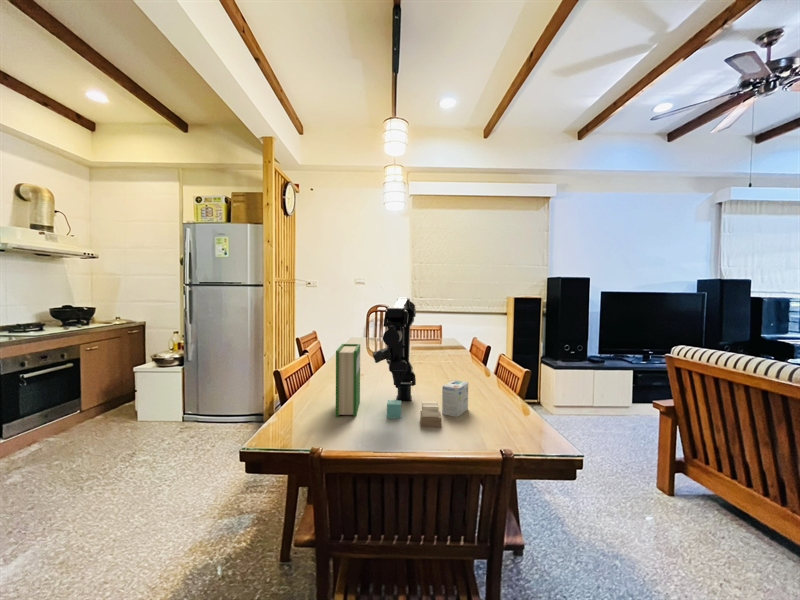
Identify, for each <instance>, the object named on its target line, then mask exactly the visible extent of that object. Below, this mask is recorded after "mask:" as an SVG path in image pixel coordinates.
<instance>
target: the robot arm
mask: <svg viewBox="0 0 800 600" xmlns="http://www.w3.org/2000/svg"><path fill="white" fill-rule="evenodd" d="M416 313H417V310H416V305H415V303H413V302H412V301H411V299H410V298H409V297H398V298H397V299H396V302H395V303H394V305H389V306H388V307H387V308H386V309H385V311H384V318H383V327H385V328H387V330H385V331H384V333H383V336H382V341H383V343H384V344H385V345H386V347H385V348H381V349H379V350H376V351H374V352H372V354H371V355H372V357H373V360H374V362H375V364H378V363H380V362H382V361H385V360H386V364H388V371H389V373H391V375H392V381H393V386H395V388H396V389H397V395H396V399H395V400H401V402H402V401H403V402H405V401H407V402H412V401H413V395H412V387H414V386H416V384H417V383H416V382H417V380H416V373H415V371H414V370H413V365H412V363H411V362H410V349H411V347H410V346H411V345H410V344H411V341H410V340H411V327H412V325H413V323H414V321H415V317H416V316H417V314H416Z"/></svg>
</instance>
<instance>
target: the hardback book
mask: <svg viewBox="0 0 800 600" xmlns="http://www.w3.org/2000/svg"><path fill="white" fill-rule="evenodd" d="M360 403H361V344H360V343H342V344H341V345H340V346H339V347H338V348H337V349H336V350H335V418H339V417H340V416H341V415H343V416H345V415H346V416H348V415H349V416H353V418H357V417H358V416H357V415H358V411H359V407H360Z"/></svg>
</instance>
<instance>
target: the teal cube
mask: <svg viewBox="0 0 800 600" xmlns="http://www.w3.org/2000/svg"><path fill="white" fill-rule="evenodd" d="M386 419H402V401H401V400H396V399H395V400H394V399H393V400H391V399H388V400H387V404H386Z"/></svg>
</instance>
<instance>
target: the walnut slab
mask: <svg viewBox="0 0 800 600" xmlns="http://www.w3.org/2000/svg"><path fill="white" fill-rule="evenodd" d="M419 414H420V428H442V425H443V424H442V422H443V421H442V412H441V411H439V417H422V410H420V413H419Z"/></svg>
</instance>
